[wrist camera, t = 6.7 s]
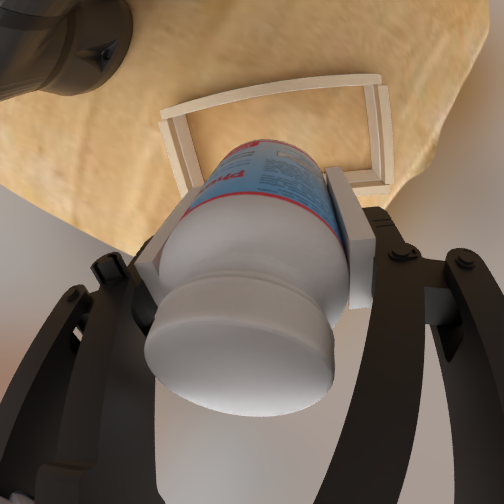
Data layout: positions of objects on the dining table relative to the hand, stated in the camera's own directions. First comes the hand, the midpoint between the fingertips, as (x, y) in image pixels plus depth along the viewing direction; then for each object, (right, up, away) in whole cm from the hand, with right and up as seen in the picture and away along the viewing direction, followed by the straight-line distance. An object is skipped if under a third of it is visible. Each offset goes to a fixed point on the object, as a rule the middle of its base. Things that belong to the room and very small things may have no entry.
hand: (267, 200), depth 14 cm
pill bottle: (0, +1, +1) cm, 2 cm away
